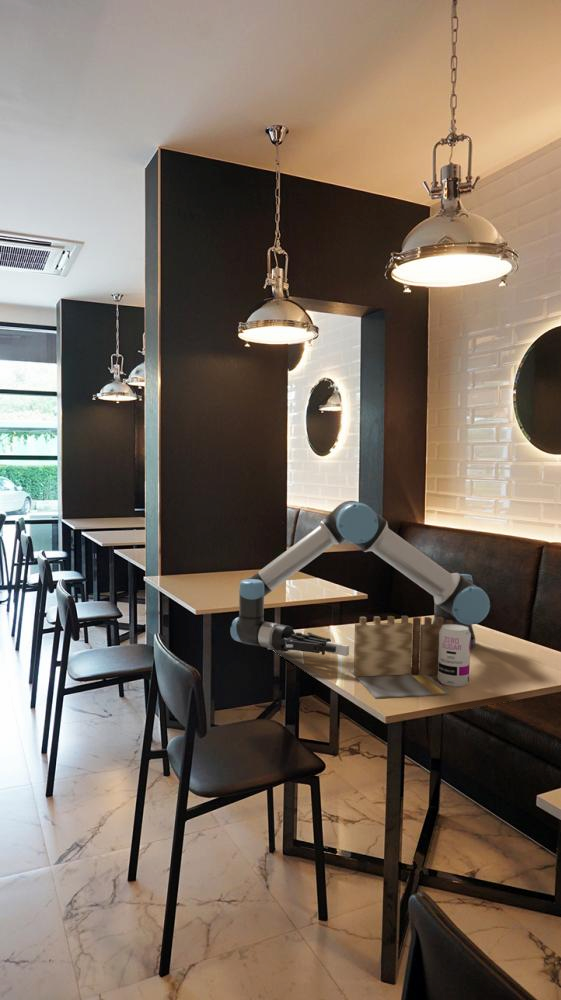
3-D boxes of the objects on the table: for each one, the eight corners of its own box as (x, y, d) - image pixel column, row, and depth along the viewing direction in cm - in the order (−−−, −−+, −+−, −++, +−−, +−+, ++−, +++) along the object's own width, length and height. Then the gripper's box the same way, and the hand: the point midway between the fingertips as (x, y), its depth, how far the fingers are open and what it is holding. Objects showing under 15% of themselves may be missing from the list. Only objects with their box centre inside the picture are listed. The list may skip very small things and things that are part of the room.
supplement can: (463, 677, 184) (465, 623, 183) (472, 687, 175) (475, 631, 175) (434, 677, 183) (436, 623, 183) (442, 687, 175) (444, 630, 174)
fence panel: (408, 672, 185) (410, 615, 184) (411, 674, 184) (412, 616, 183) (353, 674, 182) (355, 616, 181) (355, 676, 181) (356, 618, 180)
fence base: (441, 667, 193) (443, 612, 192) (478, 693, 171) (480, 631, 170) (349, 670, 187) (351, 614, 186) (375, 698, 166) (377, 634, 165)
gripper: (289, 644, 203) (358, 658, 190) (264, 654, 192) (335, 669, 179) (289, 620, 203) (359, 632, 190) (264, 628, 192) (336, 642, 179)
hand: (347, 650), depth 184 cm, fingers closed
